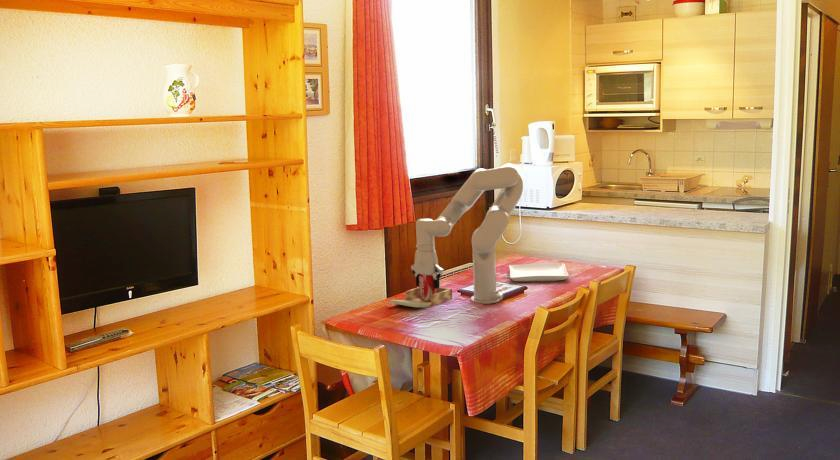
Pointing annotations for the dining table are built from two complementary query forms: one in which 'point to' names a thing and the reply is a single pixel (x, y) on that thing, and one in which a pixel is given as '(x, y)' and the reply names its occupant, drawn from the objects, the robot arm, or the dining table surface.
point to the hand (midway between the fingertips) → (427, 286)
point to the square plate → (538, 272)
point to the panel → (409, 303)
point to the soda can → (426, 287)
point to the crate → (437, 298)
